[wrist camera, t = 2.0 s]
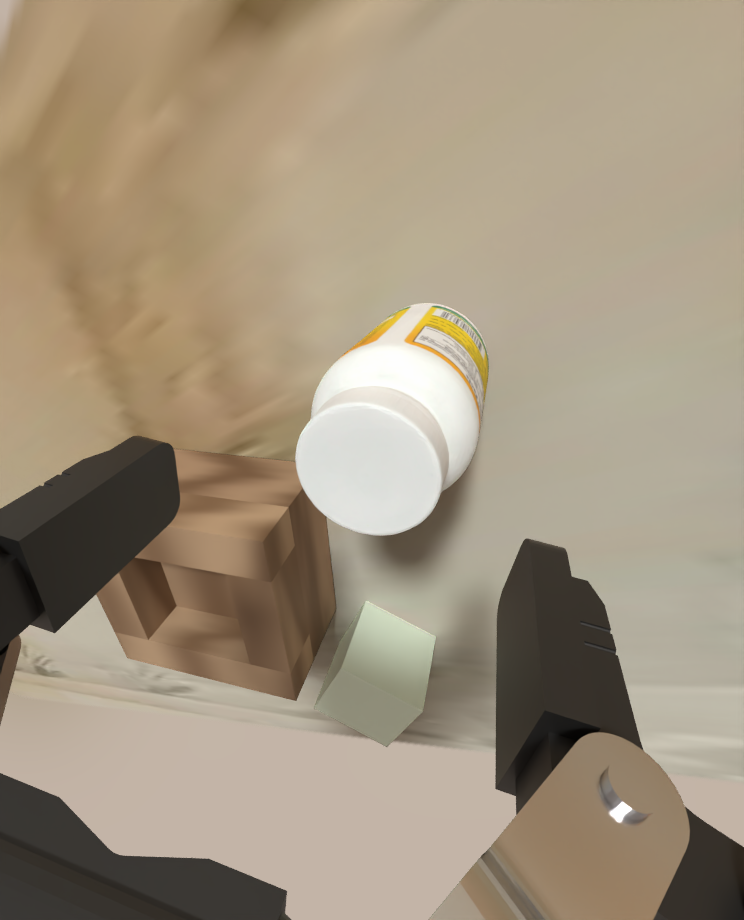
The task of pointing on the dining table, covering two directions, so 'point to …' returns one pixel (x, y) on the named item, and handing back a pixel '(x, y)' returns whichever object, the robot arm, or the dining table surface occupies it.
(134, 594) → the brown open box
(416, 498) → the supplement bottle
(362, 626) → the green cube
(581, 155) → the dining table surface
